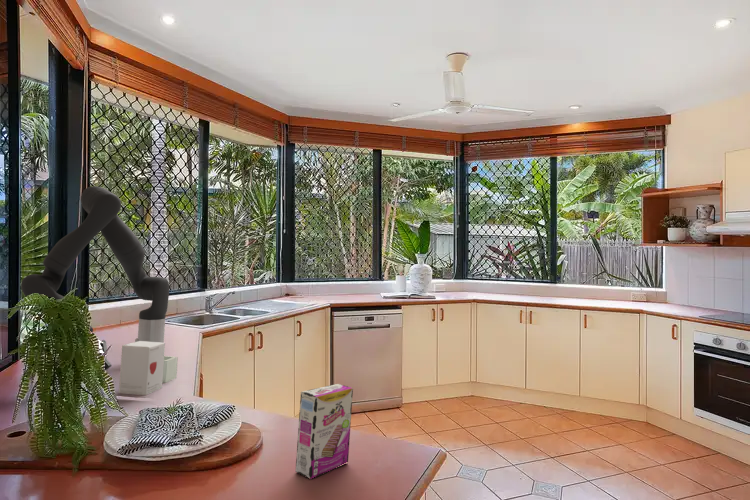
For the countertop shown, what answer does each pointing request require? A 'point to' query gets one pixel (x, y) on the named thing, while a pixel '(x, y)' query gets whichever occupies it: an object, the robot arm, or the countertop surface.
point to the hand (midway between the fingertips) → (108, 368)
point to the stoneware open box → (169, 368)
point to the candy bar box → (323, 429)
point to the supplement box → (141, 367)
